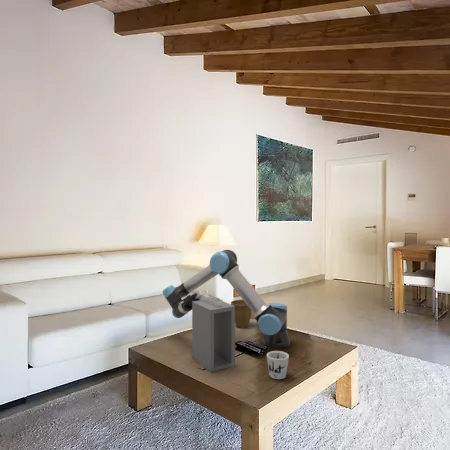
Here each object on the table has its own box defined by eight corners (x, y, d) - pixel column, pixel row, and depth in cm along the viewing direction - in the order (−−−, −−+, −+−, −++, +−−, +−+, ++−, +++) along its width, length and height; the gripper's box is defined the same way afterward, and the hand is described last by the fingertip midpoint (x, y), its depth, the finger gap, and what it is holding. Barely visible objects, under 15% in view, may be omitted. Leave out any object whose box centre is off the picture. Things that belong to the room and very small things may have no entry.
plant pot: (257, 327, 247) (257, 303, 247) (238, 331, 240) (239, 306, 239) (244, 321, 260) (244, 298, 259) (226, 325, 252) (226, 301, 251)
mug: (264, 379, 173) (264, 357, 173) (270, 366, 188) (270, 346, 187) (287, 382, 170) (287, 360, 170) (291, 368, 184) (291, 348, 184)
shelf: (192, 358, 197) (192, 301, 195) (215, 353, 204) (215, 298, 202) (210, 372, 180) (210, 310, 179) (234, 365, 188) (234, 306, 186)
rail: (192, 296, 206) (192, 290, 206) (198, 295, 208) (198, 290, 208) (216, 307, 184) (216, 301, 184) (222, 306, 186) (222, 300, 186)
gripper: (201, 309, 220) (219, 296, 202) (175, 313, 211) (191, 300, 193) (198, 297, 222) (215, 283, 205) (172, 300, 214) (188, 286, 196)
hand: (203, 291), depth 199 cm, fingers closed on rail, 3 cm apart
